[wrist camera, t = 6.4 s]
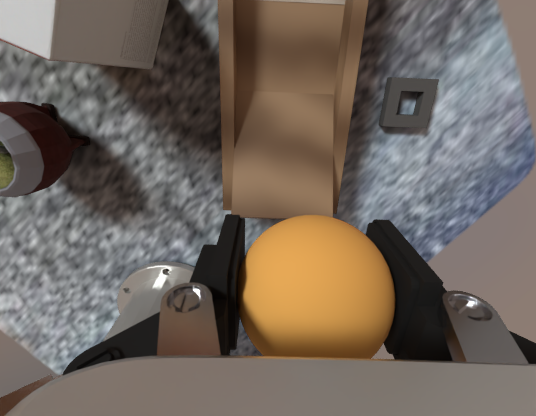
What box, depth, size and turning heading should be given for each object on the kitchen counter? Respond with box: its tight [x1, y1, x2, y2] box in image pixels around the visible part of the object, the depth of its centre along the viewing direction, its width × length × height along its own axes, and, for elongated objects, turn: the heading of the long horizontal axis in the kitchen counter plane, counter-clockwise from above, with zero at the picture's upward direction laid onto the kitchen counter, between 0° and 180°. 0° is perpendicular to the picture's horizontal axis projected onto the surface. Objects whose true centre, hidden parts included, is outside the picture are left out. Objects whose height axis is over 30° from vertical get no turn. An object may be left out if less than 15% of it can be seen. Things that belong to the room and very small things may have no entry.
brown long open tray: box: [218, 0, 368, 219], centre depth 20 cm, size 28×10×7 cm, turn 178°
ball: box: [237, 215, 395, 359], centre depth 9 cm, size 5×5×5 cm
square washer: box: [379, 77, 439, 128], centre depth 25 cm, size 4×4×1 cm
